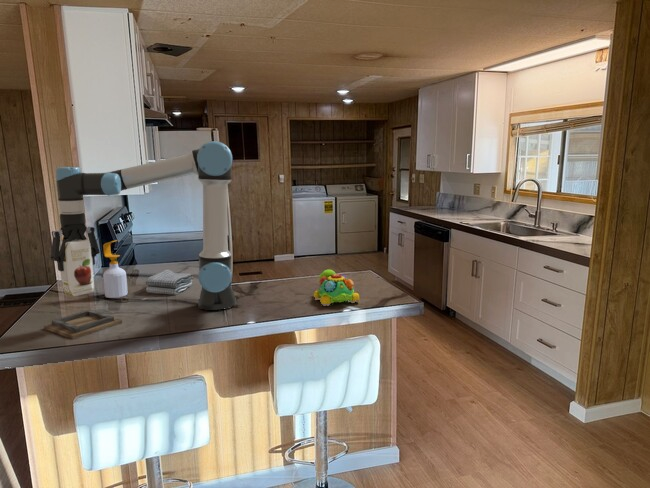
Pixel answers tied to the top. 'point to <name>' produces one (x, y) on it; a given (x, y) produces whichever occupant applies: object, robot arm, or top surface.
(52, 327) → the base plate
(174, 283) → the towel
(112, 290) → the soap bottle
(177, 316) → the top surface
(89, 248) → the juice carton
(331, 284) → the turtle toy
